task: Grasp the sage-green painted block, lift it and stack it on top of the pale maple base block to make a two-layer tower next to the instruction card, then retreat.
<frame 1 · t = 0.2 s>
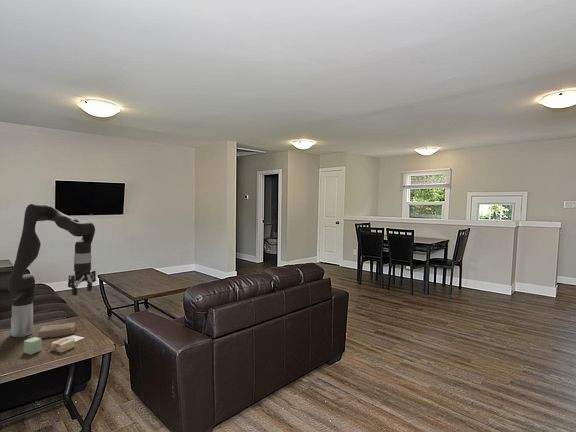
hand: (82, 293, 170), 29 cm above the table, fingers open, 8 cm apart
brick: (57, 334, 188), on the table
green block: (32, 351, 165), on the table
base block: (62, 348, 170), on the table
instruction page: (70, 339, 180), on the table
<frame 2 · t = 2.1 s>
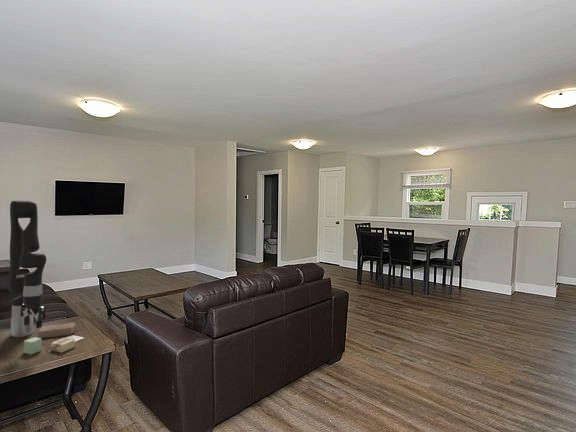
hand: (32, 326, 165), 13 cm above the table, fingers open, 8 cm apart
nothing on the table moved.
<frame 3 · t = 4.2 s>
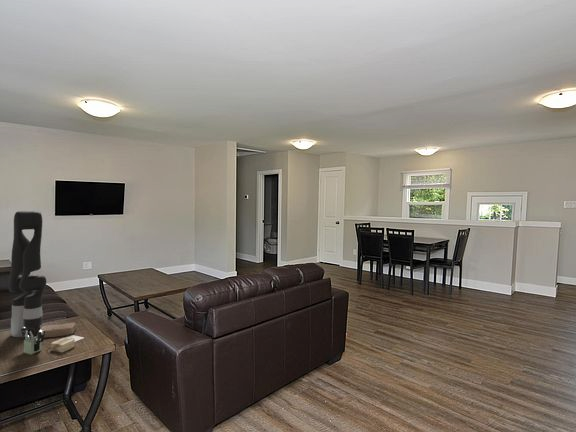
hand: (32, 349, 165), 1 cm above the table, fingers closed on green block, 5 cm apart
green block: (32, 351, 165), on the table, touching gripper
everything else where it was.
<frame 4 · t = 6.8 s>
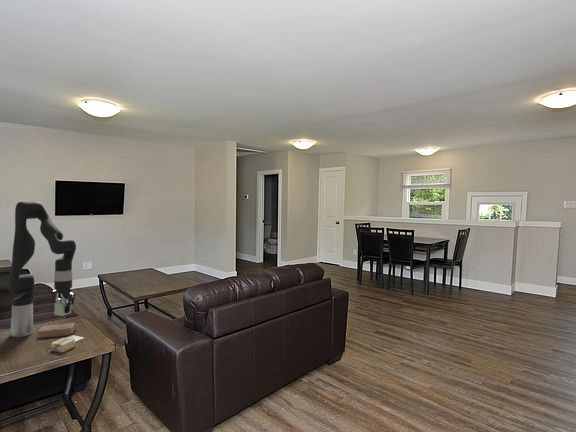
hand: (63, 312, 169), 19 cm above the table, fingers closed on green block, 5 cm apart
green block: (62, 313, 169), point 18 cm above the table, touching gripper
everything else where it was.
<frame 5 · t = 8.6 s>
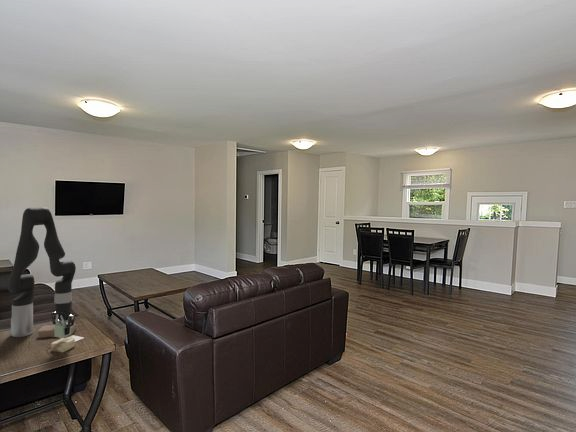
hand: (63, 333, 169), 8 cm above the table, fingers closed on green block, 5 cm apart
green block: (62, 335, 169), point 7 cm above the table, touching gripper
everything else where it was.
when the fingers open (6 cm above the table, at t = 9.8 s): green block drops 2 cm, resting on base block.
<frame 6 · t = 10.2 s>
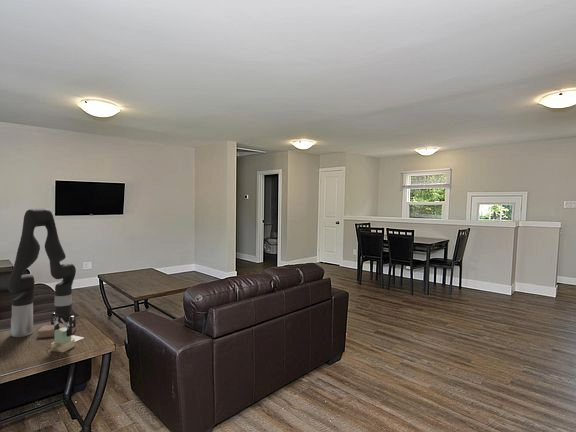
hand: (63, 334, 170), 7 cm above the table, fingers open, 8 cm apart
green block: (62, 341, 170), point 4 cm above the table, touching base block
base block: (62, 349, 170), on the table, touching green block
everything else where it was.
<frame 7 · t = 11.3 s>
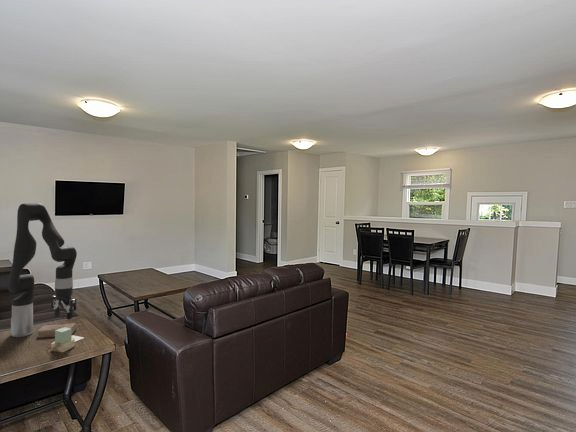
hand: (63, 317, 169), 16 cm above the table, fingers open, 8 cm apart
nothing on the table moved.
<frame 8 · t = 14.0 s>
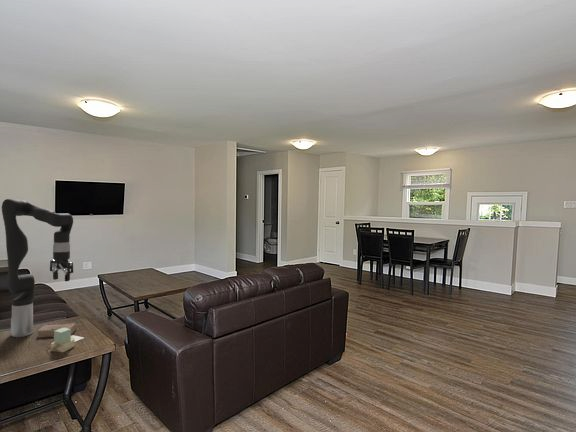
hand: (61, 280, 180), 32 cm above the table, fingers open, 8 cm apart
nothing on the table moved.
at the end: green block 0.1 cm off-centre on the base block, point 4.0 cm above the base block's base; green block tilted 0°; the gripper is holding nothing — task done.
